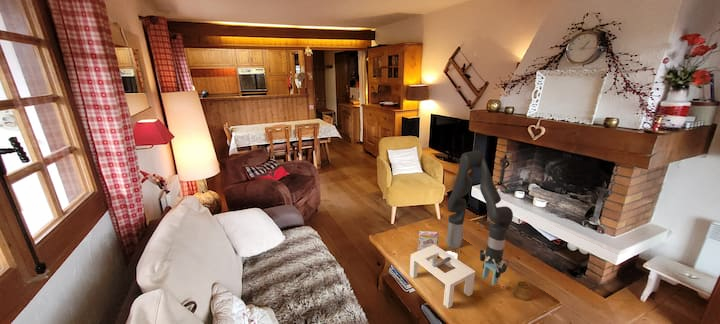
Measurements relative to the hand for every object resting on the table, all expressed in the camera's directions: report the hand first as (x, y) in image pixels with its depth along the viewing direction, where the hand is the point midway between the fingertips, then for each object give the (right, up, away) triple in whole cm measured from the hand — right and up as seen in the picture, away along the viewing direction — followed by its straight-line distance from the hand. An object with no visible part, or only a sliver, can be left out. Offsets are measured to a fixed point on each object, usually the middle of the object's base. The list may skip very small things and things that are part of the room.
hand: (491, 273), depth 145 cm
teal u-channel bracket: (0, -4, +1) cm, 4 cm away
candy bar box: (-24, -3, +34) cm, 42 cm away
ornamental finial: (+17, -13, +2) cm, 21 cm away
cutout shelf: (-23, -10, +10) cm, 27 cm away
